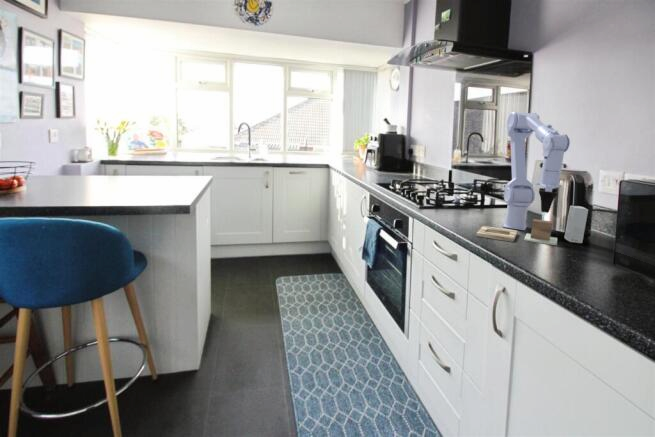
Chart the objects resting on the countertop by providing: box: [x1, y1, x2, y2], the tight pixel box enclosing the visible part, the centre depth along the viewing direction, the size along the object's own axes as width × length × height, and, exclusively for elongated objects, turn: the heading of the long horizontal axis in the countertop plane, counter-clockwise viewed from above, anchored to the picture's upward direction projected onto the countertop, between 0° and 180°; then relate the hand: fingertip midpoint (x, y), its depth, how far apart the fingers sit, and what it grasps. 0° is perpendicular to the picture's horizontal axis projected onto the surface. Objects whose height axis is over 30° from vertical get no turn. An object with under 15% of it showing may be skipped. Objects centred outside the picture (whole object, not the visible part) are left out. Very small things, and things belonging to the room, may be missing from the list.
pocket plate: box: [475, 225, 518, 243], centre depth 157 cm, size 14×12×1 cm
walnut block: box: [530, 218, 553, 241], centre depth 153 cm, size 4×6×6 cm, turn 64°
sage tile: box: [523, 232, 558, 246], centre depth 154 cm, size 10×10×1 cm
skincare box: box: [564, 205, 589, 244], centre depth 154 cm, size 6×4×12 cm
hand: (544, 210), depth 152 cm, fingers open, 7 cm apart
